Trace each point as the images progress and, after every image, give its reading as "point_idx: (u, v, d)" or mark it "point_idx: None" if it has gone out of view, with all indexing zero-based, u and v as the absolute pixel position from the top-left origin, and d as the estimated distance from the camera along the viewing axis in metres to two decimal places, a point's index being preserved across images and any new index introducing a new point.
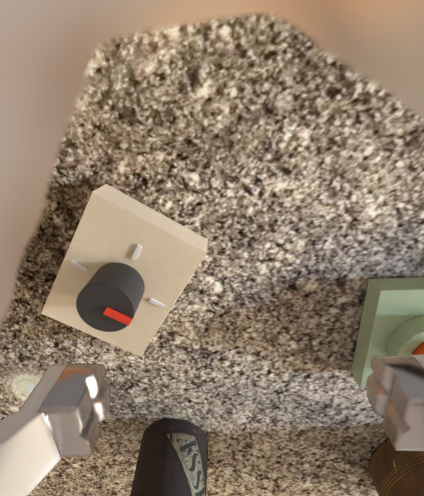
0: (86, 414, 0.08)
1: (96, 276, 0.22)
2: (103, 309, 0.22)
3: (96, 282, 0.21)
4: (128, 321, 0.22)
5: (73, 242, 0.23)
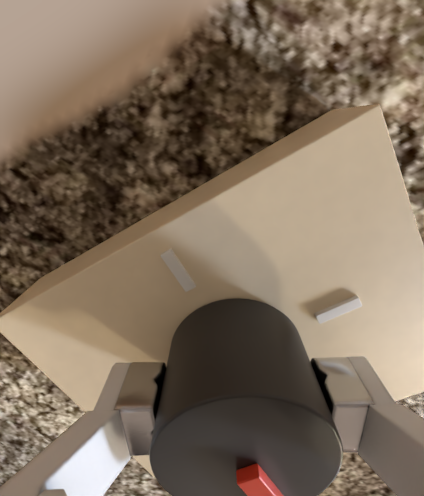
0: None
1: (255, 347, 0.07)
2: (238, 462, 0.07)
3: (286, 394, 0.06)
4: None
5: (210, 207, 0.08)
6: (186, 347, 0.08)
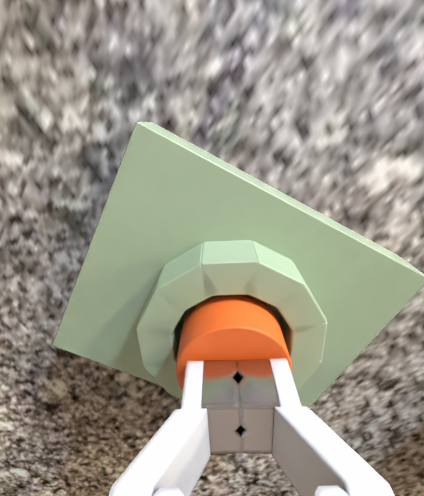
0: None
1: None
2: None
3: None
4: None
5: None
6: None
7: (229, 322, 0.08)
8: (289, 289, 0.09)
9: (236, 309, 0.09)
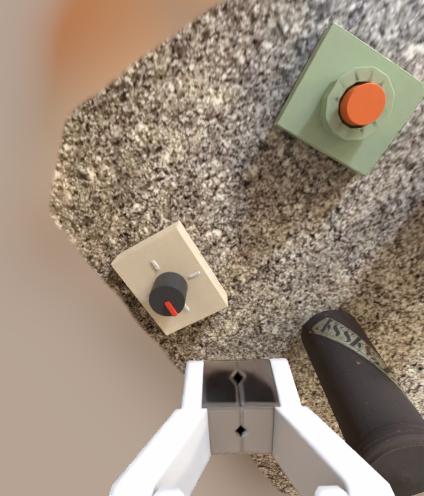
0: None
1: (170, 280, 0.35)
2: (165, 301, 0.35)
3: (173, 286, 0.34)
4: (175, 314, 0.35)
5: (133, 291, 0.38)
6: (157, 281, 0.36)
7: (367, 83, 0.27)
8: (383, 78, 0.27)
9: None
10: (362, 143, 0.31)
